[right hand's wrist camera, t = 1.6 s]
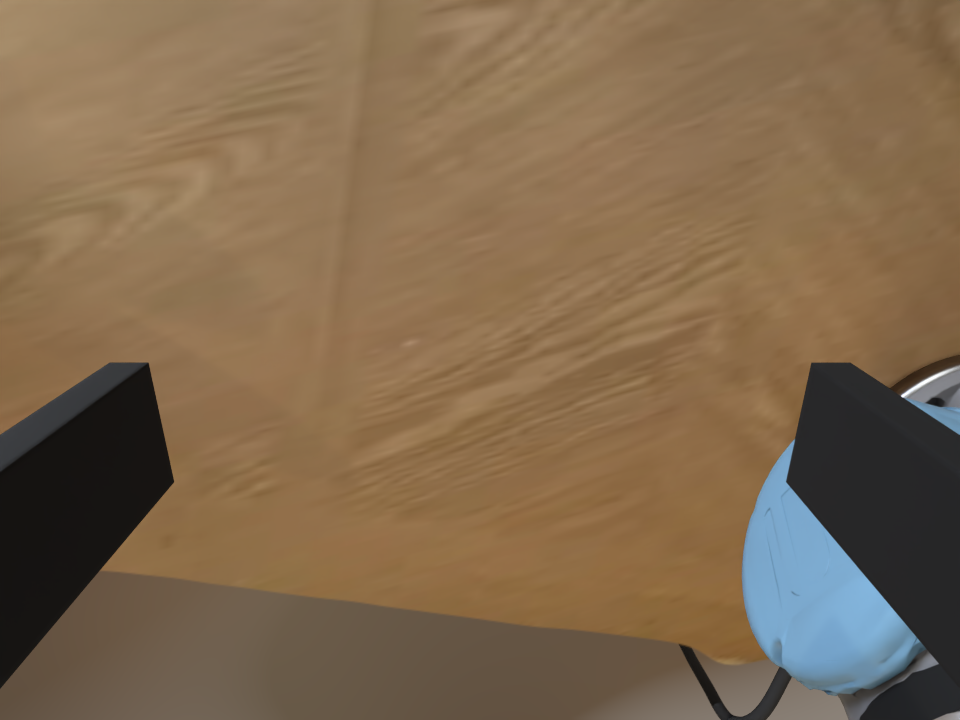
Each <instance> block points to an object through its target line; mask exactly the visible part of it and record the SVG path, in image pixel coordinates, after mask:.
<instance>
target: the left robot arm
mask: <svg viewBox="0 0 960 720" xmlns="http://www.w3.org/2000/svg"><path fill="white" fill-rule="evenodd" d="M890 389H891V390H892V391H894V392H895V393H897V394H898V395H900V396H902V397H903V398H905V399H906V400H908V401H909V402H911V403H912V404H914V405H915V406H917V407H918V408H920V409H921V410H923V411H924V412H926V413H927V414H929V415H930V416H932V417H933V418H935V419H936V420H938V421H939V422H941V423H942V424H944V425H945V426H947V427H949V428H950V429H952V430H953V431H955V432H956V433H958V434H959V435H960V355H958V356H954V357H950V358H946V359H944V360H941V361H938V362H935V363H933V364H930V365H928V366H926V367H924V368H922V369H920V370H918V371H916V372H914V373H912V374H910V375H909V376H907V377H906V378H904V379H903V380H901V381H900V382H898V383H897V384H895V385H894V386H893V387H891V388H890ZM794 442H795V439H794V441H793V442H792V443H791V444H790V445H789V446H788V447H787V449H786V450H785V451H784V452H783V454H782V455H781V456H780V458H779V459H778V460H777V462H776V463H775V465H774V467H773V468H772V470H771V472H770V473H769V475H768V477H767V479H766V481H765V483H764V485H763V487H762V489H761V491H760V494H759V496H758V498H757V502H756V505H755V509H754V512H753V514H752V516H751V518H750V521H749V525H748V529H747V534H746V539H745V545H744V552H743V562H742V586H743V596H744V603H745V609H746V613H747V617H748V620H749V623H750V626H751V629H752V631H753V634H754V635H755V637H756V639H757V642H758V644H759V645H760V647H761V648H762V650H763V651H764V652H765V654H766V655H767V656H768V658H769V659H770V660H771V661H772V662H773V663H775V664H776V665H777V666H779V669H778V671H777V673H776V675H775V677H774V679H773V681H772V683H771V685H770V687H769V689H768V691H767V692H766V694H765V696H764V697H763V699H762V701H761V702H760V703H759V705H758V706H757V707H756V708H755V709H754V710H753V711H752V712H751V713H749V714H748V715H746V716H743V717H737V716H734V715H732V714H731V713H730V712H729V711H728V710H727V708H726V707H725V705H724V704H723V702H722V700H721V699H720V697H719V695H718V693H717V691H716V689H715V687H714V686H713V684H712V682H711V681H710V679H709V677H708V676H707V674H706V672H705V670H704V669H703V667H702V665H701V664H700V662H699V660H698V659H697V657H696V655H695V653H694V651H693V649H692V647H689V646H686V645H682V644H679V646H680V648H681V650H682V652H683V654H684V656H685V658H686V660H687V662H688V664H689V666H690V667H691V669H692V671H693V673H694V674H695V676H696V678H697V680H698V682H699V683H700V685H701V687H702V689H703V690H704V692H705V694H706V696H707V698H708V700H709V702H710V704H711V706H712V708H713V709H714V711H715V713H716V714H717V716H718V717H719V718H720V719H721V720H766V719H767V718H768V717H769V716H770V714H771V713H772V712H773V710H774V709H775V707H776V706H777V704H778V702H779V700H780V699H781V697H782V695H783V693H784V691H785V689H786V687H787V685H788V683H789V681H790V679H791V677H794V678H795V679H796V680H797V681H799V682H801V683H802V684H803V685H804V686H806V687H807V688H808V689H810V690H811V689H818V690H822V691H825V692H826V693H827V694H828V695H833V696H837V695H838V696H839V698H840V700H841V702H842V704H843V706H844V708H845V711H846V714H847V716H848V719H849V720H960V688H959V687H958V686H957V685H956V684H955V682H954V681H953V680H952V679H951V678H950V676H949V675H948V674H947V673H946V672H945V670H944V669H943V668H942V667H941V666H940V665H939V663H938V662H937V661H936V660H935V659H934V657H933V656H932V655H931V654H930V653H929V651H928V650H927V649H926V648H925V647H924V646H923V644H922V643H921V642H920V641H919V640H918V638H917V637H916V636H915V635H914V634H913V632H912V631H911V630H910V629H909V628H908V626H907V625H906V624H905V623H904V622H903V621H902V619H901V618H900V617H899V616H898V615H897V613H896V612H895V611H894V610H893V609H892V607H891V606H890V605H889V604H888V603H887V602H886V600H885V599H884V598H883V597H882V596H881V594H880V593H879V592H878V591H877V590H876V588H875V587H874V586H873V585H872V584H871V583H870V581H869V580H868V579H867V578H866V577H865V575H864V574H863V573H862V572H861V571H860V569H859V568H858V567H857V566H856V565H855V564H854V562H853V561H852V560H851V559H850V558H849V556H848V555H847V554H846V553H845V552H844V550H843V549H842V548H841V547H840V546H839V545H838V543H837V542H836V541H835V540H834V539H833V537H832V536H831V535H830V534H829V533H828V531H827V530H826V529H825V528H824V527H823V526H822V524H821V523H820V522H819V521H818V520H817V518H816V517H815V516H814V515H813V514H812V512H811V511H810V510H809V509H808V508H807V506H806V505H805V504H804V503H803V502H802V501H801V499H800V498H799V497H798V496H797V495H796V493H795V492H794V491H793V490H792V489H791V487H790V486H789V485H788V484H787V483H786V479H787V474H788V470H789V465H790V460H791V456H792V451H793V447H794Z"/></svg>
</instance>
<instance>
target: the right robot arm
mask: <svg viewBox="0 0 960 720" xmlns="http://www.w3.org/2000/svg"><path fill="white" fill-rule="evenodd" d="M173 483H174V479H173V474H172V470H171V465H170V460H169V456H168V451H167V447H166V442H165V437H164V433H163V428H162V423H161V419H160V414H159V409H158V405H157V400H156V395H155V391H154V386H153V382H152V377H151V372H150V368H149V363H109V364H107V365H105V366H104V367H102V368H101V369H99V370H98V371H96V372H95V373H93V374H92V375H90V376H89V377H87V378H86V379H84V380H83V381H81V382H80V383H78V384H77V385H75V386H74V387H72V388H71V389H69V390H68V391H66V392H65V393H63V394H62V395H60V396H58V397H57V398H55V399H54V400H52V401H51V402H49V403H48V404H46V405H45V406H43V407H42V408H40V409H39V410H37V411H36V412H34V413H33V414H31V415H30V416H28V417H27V418H25V419H24V420H22V421H21V422H19V423H18V424H16V425H15V426H13V427H11V428H10V429H8V430H7V431H5V432H4V433H2V434H1V435H0V688H1V687H2V686H3V685H4V684H5V682H6V681H7V680H8V679H9V678H10V676H11V675H12V674H13V673H14V672H15V670H16V669H17V668H18V667H19V666H20V664H21V663H22V662H23V661H24V660H25V659H26V657H27V656H28V655H29V654H30V653H31V651H32V650H33V649H34V648H35V647H36V646H37V644H38V643H39V642H40V641H41V640H42V638H43V637H44V636H45V635H46V634H47V632H48V631H49V630H50V629H51V628H52V626H53V625H54V624H55V623H56V622H57V621H58V619H59V618H60V617H61V616H62V615H63V613H64V612H65V611H66V610H67V609H68V607H69V606H70V605H71V604H72V603H73V602H74V600H75V599H76V598H77V597H78V596H79V594H80V593H81V592H82V591H83V590H84V588H85V587H86V586H87V585H88V584H89V583H90V581H91V580H92V579H93V578H94V577H95V575H96V574H97V573H98V572H99V571H100V569H101V568H102V567H103V566H104V565H105V564H106V562H107V561H108V560H109V559H110V558H111V556H112V555H113V554H114V553H115V552H116V550H117V549H118V548H119V547H120V546H121V545H122V543H123V542H124V541H125V540H126V539H127V537H128V536H129V535H130V534H131V533H132V531H133V530H134V529H135V528H136V527H137V526H138V524H139V523H140V522H141V521H142V520H143V518H144V517H145V516H146V515H147V514H148V512H149V511H150V510H151V509H152V508H153V506H154V505H155V504H156V503H157V502H158V501H159V499H160V498H161V497H162V496H163V495H164V493H165V492H166V491H167V490H168V489H169V487H170V486H171V485H172V484H173ZM786 483H787V484H788V485H789V486H790V487H791V489H792V490H793V491H794V492H795V493H796V495H797V496H798V497H799V498H800V499H801V501H802V502H803V503H804V504H805V505H806V506H807V508H808V509H809V510H810V511H811V512H812V514H813V515H814V516H815V517H816V518H817V520H818V521H819V522H820V523H821V524H822V526H823V527H824V528H825V529H826V530H827V531H828V533H829V534H830V535H831V536H832V537H833V539H834V540H835V541H836V542H837V543H838V545H839V546H840V547H841V548H842V549H843V550H844V552H845V553H846V554H847V555H848V556H849V558H850V559H851V560H852V561H853V562H854V564H855V565H856V566H857V567H858V568H859V569H860V571H861V572H862V573H863V574H864V575H865V577H866V578H867V579H868V580H869V581H870V583H871V584H872V585H873V586H874V587H875V588H876V590H877V591H878V592H879V593H880V594H881V596H882V597H883V598H884V599H885V600H886V602H887V603H888V604H889V605H890V606H891V607H892V609H893V610H894V611H895V612H896V613H897V615H898V616H899V617H900V618H901V619H902V621H903V622H904V623H905V624H906V625H907V626H908V628H909V629H910V630H911V631H912V632H913V634H914V635H915V636H916V637H917V638H918V640H919V641H920V642H921V643H922V644H923V646H924V647H925V648H926V649H927V650H928V651H929V653H930V654H931V655H932V656H933V657H934V659H935V660H936V661H937V662H938V663H939V665H940V666H941V667H942V668H943V669H944V670H945V672H946V673H947V674H948V675H949V676H950V678H951V679H952V680H953V681H954V682H955V684H956V685H957V686H958V687H959V688H960V435H959V434H958V433H956V432H955V431H953V430H952V429H950V428H949V427H947V426H945V425H944V424H942V423H941V422H939V421H938V420H936V419H935V418H933V417H932V416H930V415H929V414H927V413H926V412H924V411H923V410H921V409H920V408H918V407H917V406H915V405H914V404H912V403H911V402H909V401H908V400H906V399H905V398H903V397H902V396H900V395H898V394H897V393H895V392H894V391H892V390H891V389H889V388H888V387H886V386H885V385H883V384H882V383H880V382H879V381H877V380H876V379H874V378H873V377H871V376H870V375H868V374H867V373H865V372H864V371H862V370H861V369H859V368H858V367H856V366H854V365H853V364H851V363H811V368H810V372H809V377H808V382H807V386H806V391H805V395H804V400H803V405H802V409H801V414H800V419H799V423H798V428H797V433H796V437H795V442H794V447H793V451H792V456H791V460H790V465H789V470H788V474H787V479H786Z"/></svg>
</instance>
